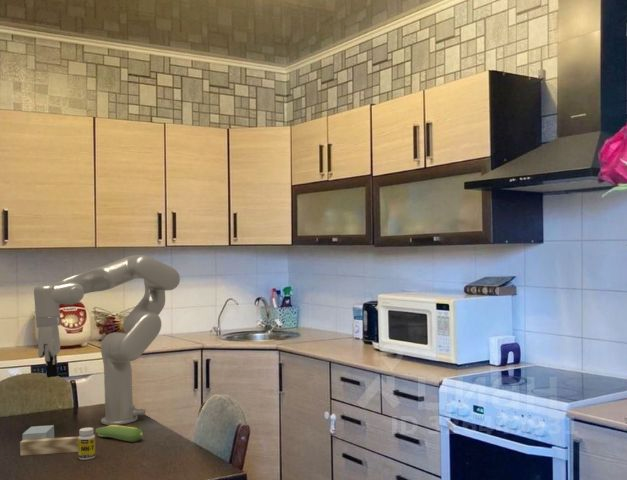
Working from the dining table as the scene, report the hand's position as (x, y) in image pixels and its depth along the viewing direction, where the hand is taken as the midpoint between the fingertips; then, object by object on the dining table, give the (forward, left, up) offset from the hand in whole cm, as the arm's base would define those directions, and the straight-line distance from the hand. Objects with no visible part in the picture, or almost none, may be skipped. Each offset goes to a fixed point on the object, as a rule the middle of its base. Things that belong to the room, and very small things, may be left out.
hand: (52, 376), depth 227 cm
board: (-6, +20, -20) cm, 29 cm away
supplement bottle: (-17, +28, -20) cm, 38 cm away
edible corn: (-23, +9, -20) cm, 32 cm away
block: (+1, +14, -20) cm, 25 cm away
